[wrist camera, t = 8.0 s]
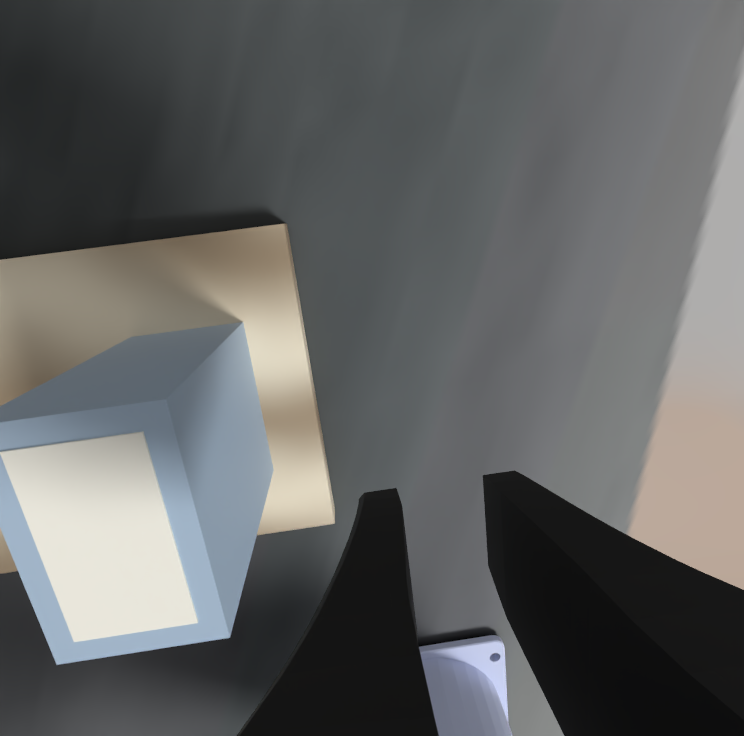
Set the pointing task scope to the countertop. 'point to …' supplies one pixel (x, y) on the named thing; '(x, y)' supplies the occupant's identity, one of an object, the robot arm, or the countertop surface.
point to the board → (174, 313)
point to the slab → (137, 492)
